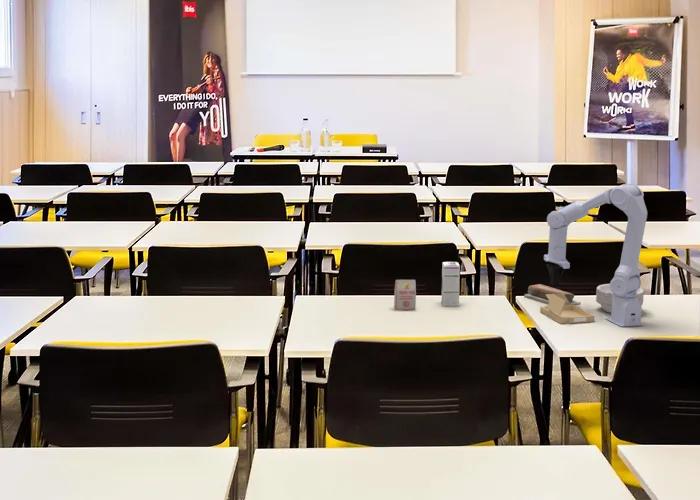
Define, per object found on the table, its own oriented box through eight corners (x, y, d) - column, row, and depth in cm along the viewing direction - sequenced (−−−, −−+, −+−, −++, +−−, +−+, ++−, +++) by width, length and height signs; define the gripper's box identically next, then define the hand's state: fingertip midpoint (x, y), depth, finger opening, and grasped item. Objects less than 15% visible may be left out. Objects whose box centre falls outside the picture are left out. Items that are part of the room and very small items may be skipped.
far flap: (569, 302, 286) (563, 293, 290) (551, 303, 284) (545, 294, 288) (569, 303, 286) (562, 294, 290) (551, 304, 285) (545, 295, 289)
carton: (596, 322, 272) (597, 316, 272) (561, 324, 269) (561, 318, 269) (573, 310, 286) (574, 304, 286) (540, 312, 283) (540, 306, 283)
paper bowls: (590, 313, 283) (592, 290, 281) (600, 303, 296) (602, 281, 295) (637, 319, 276) (639, 296, 274) (645, 309, 289) (647, 286, 288)
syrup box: (459, 306, 289) (460, 265, 286) (442, 306, 289) (443, 264, 286) (457, 302, 295) (459, 261, 292) (440, 302, 295) (442, 261, 292)
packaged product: (523, 285, 302) (543, 282, 308) (522, 298, 303) (542, 294, 309) (562, 296, 288) (581, 292, 293) (561, 309, 289) (580, 305, 294)
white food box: (394, 307, 288) (394, 278, 286) (413, 307, 288) (414, 278, 286) (395, 310, 284) (396, 281, 282) (415, 310, 284) (416, 281, 282)
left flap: (560, 315, 270) (566, 300, 269) (559, 315, 270) (565, 300, 269) (547, 308, 278) (553, 294, 277) (546, 308, 278) (552, 293, 277)
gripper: (536, 242, 292) (534, 280, 295) (556, 250, 278) (554, 290, 281) (555, 241, 294) (553, 279, 296) (576, 249, 280) (573, 289, 282)
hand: (555, 285), depth 289 cm, fingers closed
